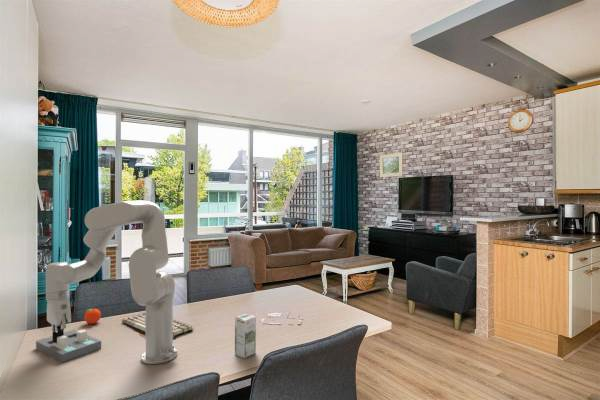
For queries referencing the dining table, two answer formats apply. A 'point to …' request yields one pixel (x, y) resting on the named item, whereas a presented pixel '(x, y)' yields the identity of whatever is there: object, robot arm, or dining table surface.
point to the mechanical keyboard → (139, 326)
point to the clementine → (92, 316)
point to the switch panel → (71, 351)
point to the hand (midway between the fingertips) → (58, 341)
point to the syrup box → (245, 335)
